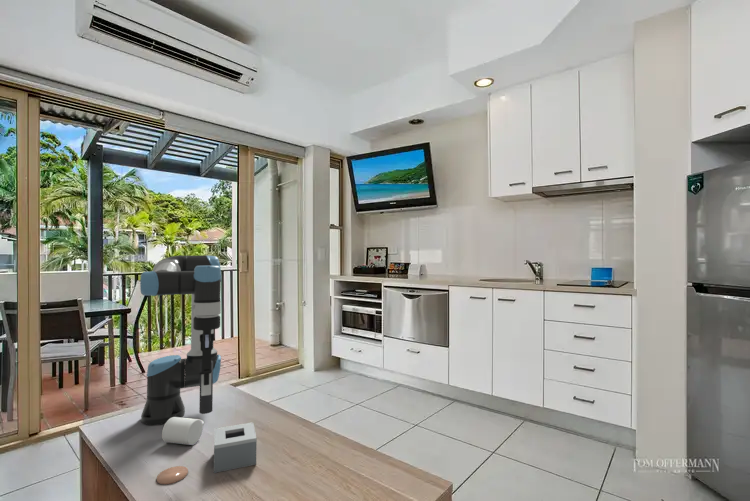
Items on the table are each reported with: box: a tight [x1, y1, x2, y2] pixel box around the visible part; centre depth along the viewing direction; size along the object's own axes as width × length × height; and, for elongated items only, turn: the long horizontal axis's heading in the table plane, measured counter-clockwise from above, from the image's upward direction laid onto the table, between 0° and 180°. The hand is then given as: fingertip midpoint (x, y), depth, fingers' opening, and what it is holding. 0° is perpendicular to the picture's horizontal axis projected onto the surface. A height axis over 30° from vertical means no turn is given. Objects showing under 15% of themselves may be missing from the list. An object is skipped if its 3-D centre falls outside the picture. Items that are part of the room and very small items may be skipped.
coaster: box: [156, 465, 189, 485], centre depth 108 cm, size 8×8×1 cm
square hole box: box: [213, 421, 258, 474], centre depth 117 cm, size 12×12×8 cm
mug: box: [161, 417, 205, 446], centre depth 130 cm, size 12×10×8 cm
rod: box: [198, 361, 214, 415], centre depth 113 cm, size 4×4×15 cm
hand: (206, 392), depth 113 cm, fingers closed on rod, 3 cm apart
